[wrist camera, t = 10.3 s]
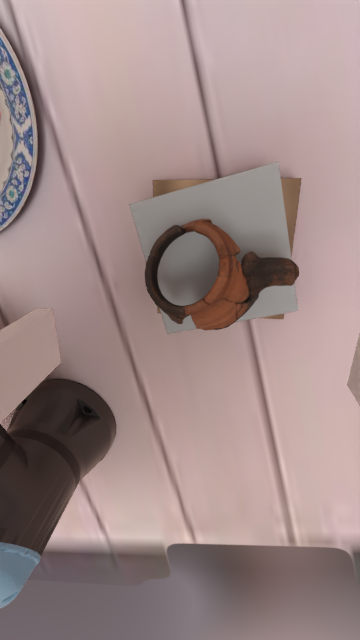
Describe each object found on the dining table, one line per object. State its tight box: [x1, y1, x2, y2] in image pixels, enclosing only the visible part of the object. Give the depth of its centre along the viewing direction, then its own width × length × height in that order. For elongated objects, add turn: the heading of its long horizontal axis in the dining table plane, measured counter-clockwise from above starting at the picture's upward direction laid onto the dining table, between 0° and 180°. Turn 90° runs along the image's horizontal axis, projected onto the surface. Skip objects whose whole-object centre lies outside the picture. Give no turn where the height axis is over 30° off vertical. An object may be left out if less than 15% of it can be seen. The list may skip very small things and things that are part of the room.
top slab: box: [129, 162, 298, 334], centre depth 30 cm, size 13×13×4 cm
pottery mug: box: [145, 219, 299, 330], centre depth 26 cm, size 12×10×8 cm
